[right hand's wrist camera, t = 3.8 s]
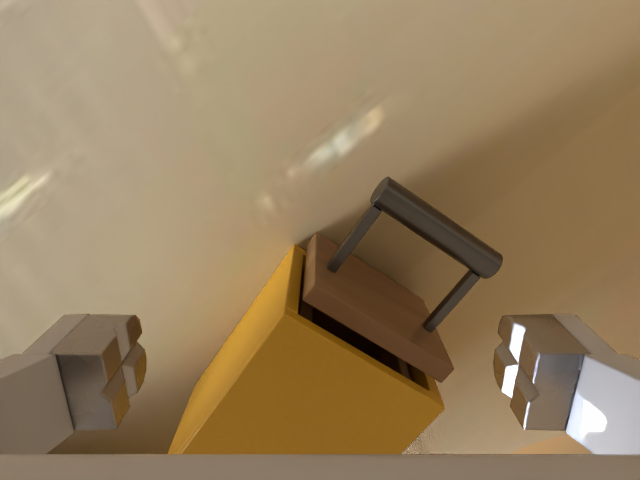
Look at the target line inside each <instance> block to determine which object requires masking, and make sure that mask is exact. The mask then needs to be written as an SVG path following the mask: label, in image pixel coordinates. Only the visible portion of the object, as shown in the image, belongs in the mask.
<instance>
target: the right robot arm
mask: <svg viewBox="0 0 640 480" xmlns="http://www.w3.org/2000/svg"><path fill="white" fill-rule="evenodd" d="M141 334H142V329H141V324H140V319H139V318H138V317H137V316H136V315H111V314H68V315H64V316H63V317H61V318H60V319H59V320H58V321H57V322H56V323H55V324H54V325H53V326H52V327H51V328H50V329H48V330H47V331H46V332H45V333H44V334H43V335H42V336H41V337H40V338H39V339H38V340H37V341H36V342H34V343H33V344H32V345H31V346H30V347H29V348H28V349H27V350H26V351H25V352H24V353H23V354H14V355H11V356H9V357H7V358H4V359H2V360H0V480H640V360H638V359H636V358H633V357H631V356H629V355H626V354H617V353H616V352H615V351H614V350H613V349H612V348H611V347H610V346H609V345H608V344H607V343H606V342H605V341H603V340H602V339H601V338H600V337H599V336H598V335H597V334H596V333H595V332H594V331H593V330H592V329H591V328H589V327H588V326H587V325H586V324H585V323H584V322H583V321H582V320H581V319H580V318H579V317H578V316H576V315H573V314H539V315H506V316H502V318H501V321H500V323H499V329H498V334H499V335H500V337H501V338H502V340H503V342H502V343H501V344H500V345H499V346H498V347H497V348H496V349H495V354H494V362H493V364H494V374H495V378H496V381H497V384H498V386H499V388H500V389H501V391H502V392H503V393H504V394H506V395H508V396H509V397H511V398H512V399H511V405H510V407H511V409H512V410H513V412H514V414H515V416H516V417H517V419H518V421H519V422H520V424H521V426H522V428H523V429H524V430H560V431H566V433H567V434H568V435H570V436H571V437H572V438H574V439H575V440H576V441H577V442H579V443H580V444H581V445H583V446H584V447H585V448H587V449H588V450H589V451H591V452H592V453H593V454H47V453H48V452H50V451H51V450H52V449H53V448H55V447H56V446H57V445H59V444H60V443H61V442H63V441H64V440H65V439H67V438H68V437H69V436H71V435H72V434H73V433H74V431H80V430H115V429H117V428H118V426H119V424H120V422H121V421H122V419H123V417H124V416H125V414H126V412H127V410H128V409H129V407H130V405H129V399H128V398H129V397H131V396H132V395H134V394H136V393H137V392H138V391H139V389H140V387H141V386H142V384H143V381H144V377H145V373H146V353H145V349H144V348H143V347H142V346H141V345H140V344H139V343H138V342H137V340H138V338H139V337H140V335H141Z"/></svg>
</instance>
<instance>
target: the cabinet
mask: <svg viewBox="0 0 640 480" xmlns="http://www.w3.org/2000/svg"><path fill="white" fill-rule="evenodd" d="M306 253H307V251H305V250H303V249H302V248H300V247H299V246H297V245H295V244H294V245H293V247H292V248H291V250H290V251H289V253H288V254H287V255H286V257H285V258H284V260H283V261H282V262H281V264H280V265H279V267H278V268H277V270H276V271H275V272H274V274H273V275H272V277H271V278H270V280H269V281H268V282H267V284H266V285H265V287H264V288H263V289H262V291H261V292H260V294H259V295H258V297H257V298H256V299H255V301H254V302H253V304H252V305H251V307H250V308H249V309H248V311H247V312H246V314H245V315H244V317H243V318H242V319H241V321H240V322H239V324H238V325H237V326H236V328H235V329H234V331H233V332H232V334H231V335H230V336H229V338H228V339H227V341H226V342H225V344H224V345H223V346H222V348H221V349H220V351H219V352H218V353H217V355H216V356H215V358H214V359H213V361H212V362H211V363H210V365H209V366H208V368H207V369H206V371H205V372H204V373H203V375H202V376H201V378H200V379H199V381H198V382H197V383H196V385H195V387H194V389H193V392H192V394H191V397H190V399H189V402H188V404H187V407H186V409H185V412H184V414H183V417H182V419H181V422H180V424H179V427H178V429H177V431H176V434H175V436H174V439H173V441H172V444H171V446H170V449H169V451H168V454H401V453H402V452H403V451H404V450H405V449H406V448H407V447H408V446H409V445H410V444H411V443H412V442H413V441H414V440H415V439H416V438H417V437H418V436H419V435H420V434H421V432H422V431H423V430H424V429H425V428H426V427H427V426H428V425H429V424H430V423H431V422H432V421H433V420H434V419H435V418H436V417H437V416H438V415H439V414H440V413H441V412H442V411H443V410H444V408H445V407H444V404H443V401H442V399H441V396H440V393H439V390H438V388H437V385H436V382H435V380H434V378H432V377H430V376H429V375H427V374H425V373H424V372H422V371H420V370H419V369H417V368H415V367H414V366H412V365H410V364H409V363H407V362H406V364H407V367H408V370H409V374H410V377H411V380H412V381H411V380H409V379H408V378H406V377H404V376H402V375H401V374H399V373H397V372H396V371H394V370H392V369H391V368H389V367H387V366H385V365H384V364H382V363H380V362H379V361H377V360H375V359H374V358H372V357H370V356H368V355H367V354H365V353H363V352H362V351H360V350H358V349H356V348H355V347H353V346H351V345H350V344H348V343H346V342H345V341H343V340H341V339H339V338H338V337H336V336H334V335H333V334H331V333H329V332H328V331H326V330H324V329H322V328H321V327H319V326H317V325H316V324H314V323H312V322H311V321H309V320H307V319H305V318H304V317H302V316H300V315H299V314H298V306H299V296H300V285H301V275H302V271H303V269H304V268H305V266H306Z"/></svg>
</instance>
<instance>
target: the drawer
mask: <svg viewBox="0 0 640 480" xmlns="http://www.w3.org/2000/svg"><path fill="white" fill-rule="evenodd" d="M370 202H371V203H372V204H371V205H370V207H369V208H368V209H367V211H366V212H365V213H364V215H363V216H362V217H361V219H360V220H359V221H358V223H357V224H356V225H355V227H354V228H353V230H352V231H351V232H350V234H349V235H348V236H347V238H346V239H345V240H344V242H343V243H342V244H341V246H340V247H339V246H338V245H336V244H334V243H333V242H331V241H330V240H328V239H327V238H325V237H323V236H322V235H320V234H319V233H317V232H316V233H315V234H314V236H313V237H312V239H311V240H310V241H309V243H308V244H307V253H306V266H305V268H304V269H303V271H302V275H301V285H300V296H299V306H298V314H299V315H300V316H302V317H304V318H305V319H307V320H309V321H311V322H312V323H314V324H316V325H317V326H319V327H321V328H322V329H324V330H326V331H328V332H329V333H331V334H333V335H334V336H336V337H338V338H339V339H341V340H343V341H345V342H346V343H348V344H350V345H351V346H353V347H355V348H356V349H358V350H360V351H362V352H363V353H365V354H367V355H368V356H370V357H372V358H374V359H375V360H377V361H379V362H380V363H382V364H384V365H385V366H387V367H389V368H391V369H392V370H394V371H396V372H397V373H399V374H401V375H402V376H404V377H406V378H408V379H409V380H411V377H410V374H409V370H408V367H407V364H406V362H407V363H409V364H410V365H412V366H414V367H415V368H417V369H419V370H420V371H422V372H424V373H425V374H427V375H429V376H430V377H432V378H434V379H435V380H437V381H439V382H442V381H443V380H444V379H445V378H446V377H447V376H448V375H449V374H450V373H451V372H452V371H453V370H454V367H453V365H452V363H451V360H450V358H449V356H448V354H447V351H446V349H445V347H444V345H443V343H442V340H441V338H440V336H439V334H438V332H437V329H436V327H437V326H438V325H439V324H440V323H441V321H442V320H443V319H444V318H445V317H446V316H447V315H448V314H449V312H450V311H451V310H452V309H453V308H454V307H455V306H456V305H457V303H458V302H459V301H460V300H461V299H462V298H463V297H464V296H465V294H466V293H467V292H468V291H469V290H470V289H471V288H472V287H473V285H474V284H475V283H476V282H477V281H478V280H479V279H480V277H482V278H485V279H486V278H490V277H492V276H493V275H494V274H495V273H496V272H497V271H498V270H499V269H500V267H501V265H502V261H503V257H502V255H501V254H500V253H498V252H497V251H495V250H494V249H492V248H491V247H490V246H488V245H487V244H485V243H484V242H482V241H481V240H479V239H478V238H477V237H475V236H474V235H472V234H471V233H469V232H468V231H466V230H465V229H464V228H462V227H461V226H459V225H458V224H456V223H455V222H453V221H452V220H451V219H449V218H448V217H446V216H445V215H443V214H442V213H440V212H439V211H438V210H436V209H435V208H433V207H432V206H430V205H429V204H427V203H426V202H425V201H423V200H422V199H420V198H419V197H417V196H416V195H415V194H413V193H412V192H410V191H409V190H407V189H406V188H404V187H403V186H402V185H400V184H399V183H397V182H396V181H394V180H393V179H391V178H390V177H386V178H384V179H383V180H382V181H381V182H380V184H379V185H378V186H377V187H376V189H375V191H374V192H373V194H372V196H371V199H370ZM381 210H382V211H384V212H385V213H387V214H388V215H390V216H391V217H393V218H394V219H396V220H397V221H399V222H400V223H402V224H403V225H405V226H406V227H407V228H409V229H410V230H412V231H413V232H415V233H416V234H418V235H419V236H421V237H422V238H424V239H425V240H427V241H428V242H430V243H431V244H433V245H434V246H436V247H437V248H439V249H440V250H442V251H443V252H445V253H446V254H448V255H449V256H451V257H452V258H454V259H455V260H457V261H458V262H460V263H461V264H463V265H464V266H466V267H467V268H469V269H470V270H469V271H468V272H467V273H466V274H465V275H464V276H463V278H462V279H461V280H460V281H459V282H458V283H457V284H456V286H455V287H454V288H453V289H452V290H451V291H450V293H449V294H448V295H447V296H446V297H445V298H444V299H443V301H442V302H441V303H440V304H439V305H438V306H437V307H436V309H435V310H434V311H433V312H432V313H431V314H429V312H428V309H427V307H426V305H425V303H424V301H423V300H422V299H421V298H419V297H418V296H416V295H415V294H413V293H411V292H410V291H408V290H407V289H405V288H404V287H402V286H400V285H399V284H397V283H396V282H394V281H393V280H391V279H389V278H388V277H386V276H385V275H383V274H382V273H380V272H378V271H377V270H375V269H374V268H372V267H371V266H369V265H367V264H366V263H364V262H363V261H361V260H360V259H358V258H356V257H355V256H353V255H352V254H350V253H351V252H352V250H353V249H354V248H355V246H356V245H357V244H358V242H359V241H360V240H361V238H362V237H363V236H364V234H365V233H366V232H367V230H368V229H369V228H370V226H371V225H372V224H373V222H374V221H375V220H376V219H377V217H378V216H379V215H380V213H381V212H382V211H381ZM411 381H412V380H411Z"/></svg>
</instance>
